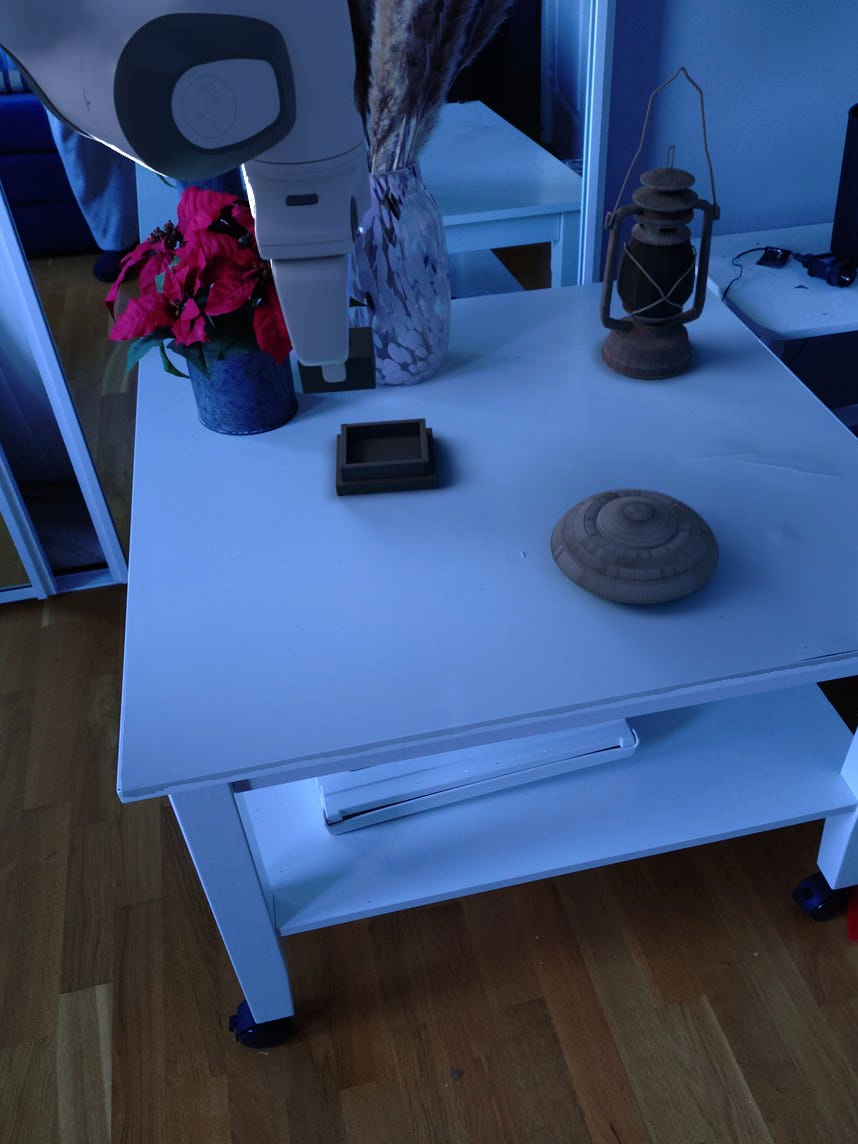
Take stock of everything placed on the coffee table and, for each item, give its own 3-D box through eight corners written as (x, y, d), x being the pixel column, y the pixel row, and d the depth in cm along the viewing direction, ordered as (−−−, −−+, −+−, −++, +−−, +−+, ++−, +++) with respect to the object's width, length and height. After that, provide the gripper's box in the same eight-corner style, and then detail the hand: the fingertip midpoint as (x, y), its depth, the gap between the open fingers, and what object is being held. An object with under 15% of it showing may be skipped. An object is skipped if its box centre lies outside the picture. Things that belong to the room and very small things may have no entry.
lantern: (683, 328, 114) (724, 45, 92) (712, 373, 106) (765, 77, 85) (584, 339, 112) (602, 54, 91) (607, 385, 105) (633, 88, 83)
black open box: (337, 495, 92) (333, 472, 90) (338, 443, 98) (334, 420, 96) (437, 488, 93) (436, 465, 90) (432, 436, 99) (431, 414, 97)
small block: (303, 394, 77) (295, 357, 74) (306, 363, 80) (299, 326, 78) (376, 389, 77) (371, 351, 75) (375, 358, 80) (370, 321, 78)
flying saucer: (534, 516, 89) (536, 469, 85) (685, 497, 91) (694, 450, 87) (571, 626, 79) (574, 578, 75) (740, 603, 80) (752, 555, 76)
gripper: (275, 136, 74) (304, 301, 84) (253, 247, 60) (292, 428, 70) (353, 131, 75) (374, 296, 85) (350, 240, 60) (375, 422, 71)
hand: (336, 357), depth 77 cm, fingers closed on small block, 5 cm apart
